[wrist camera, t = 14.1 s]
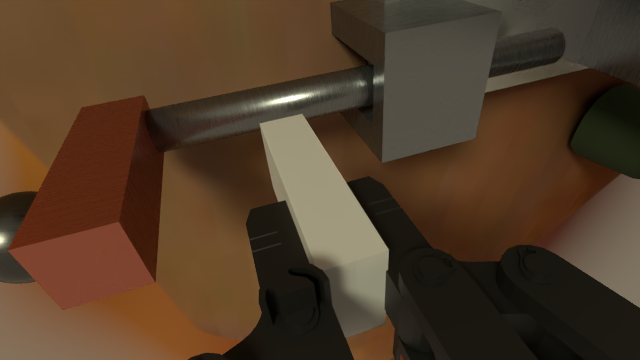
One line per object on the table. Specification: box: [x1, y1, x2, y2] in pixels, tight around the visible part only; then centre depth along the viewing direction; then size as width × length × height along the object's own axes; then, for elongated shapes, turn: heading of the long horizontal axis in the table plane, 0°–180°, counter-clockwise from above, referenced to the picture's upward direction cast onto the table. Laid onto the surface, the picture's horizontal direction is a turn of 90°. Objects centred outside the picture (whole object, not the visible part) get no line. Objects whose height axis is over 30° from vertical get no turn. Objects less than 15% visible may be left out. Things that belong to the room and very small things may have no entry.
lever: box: [0, 28, 566, 310], centre depth 14 cm, size 3×24×8 cm, turn 95°
